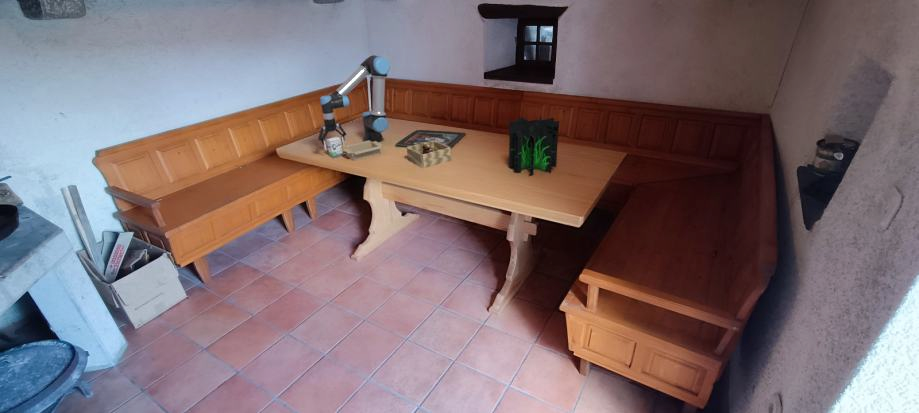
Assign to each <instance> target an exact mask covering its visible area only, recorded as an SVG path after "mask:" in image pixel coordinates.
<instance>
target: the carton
mask: <svg viewBox="0 0 919 413" xmlns="http://www.w3.org/2000/svg"><path fill="white" fill-rule="evenodd" d="M382 146H383V144H382V143H381V142H377V141H374V142H371V141H364V140H363V141H361V142H357V143H351V144H347V145H344V146H343V147H344V148H342V151H344V152H345V154H346V157H348V158H349V159H351V160H352V161H355V162H356V161H359V160H363V159H367V158H370V157H375V156H379V155H381V153H382V152H381V149H382V148H383V147H382Z"/></svg>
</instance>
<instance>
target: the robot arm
mask: <svg viewBox="0 0 919 413" xmlns="http://www.w3.org/2000/svg"><path fill="white" fill-rule="evenodd" d="M390 69H391V64H390V62H389V60H388V59H387V58H385V57H383V56H381V55H370V56H369V57H367V58H366V59H364V61H363V62H362V63H360V64H359V67H358V68H357V69H356V70H355V71H354V72H353V73H352V74H351V75H350V76H349V77H348V78H347V79H346V80H345V81H343V83H342V84H341V85H340V86H338V88H337V89H336V90H334V91H333V92H330V93H328V95H322V96H320V98H319V102H320V106H321V107H320V108H321V111H322V116H323V118H322V119H323V122H324V126H320V131H319V135H318V141H319V142H321V145H322V146H323V150H325V151H326V150H327V146H326V141H325V140H326V137H327V135H328V134H329V133H331V132H334V131H335V132H337V133H338V134H339V135H340V141H341V146H343V147H344V146H345V141H346V140H345V136H347V133H346V131H345V130H344V129H343V127H342V125H341V124H340V123H339V122H338V123H336V119H335V113H334V110H335V109H343V108H346V107H349V106H350V100H349V97H348V96H347V95H348V94H349V93H351V92H352V90H354V88H356V87H357V86H358V85H359V84H360V83H361V82H362V81H363V80H364V79H365V78H366V77H367V76H371V77H372V110H369V111H364V112H362V118H361V119H362V122H363V123H362V124H363V128H364V129H363V130H364V135H363V142H364V141H371V142H374V141H377V142H378V143H381V142H382V141H384V137H383V134H382V133H383V132H385V131H386V130H387V129H388V127H389V121H388V120H387V114H386V112H385V97H386V96H385V91H386V90H385V89H386V88H385V86H386V78H388V73H389V71H390ZM337 127H338V128H339V129H340V130H339V129H337Z"/></svg>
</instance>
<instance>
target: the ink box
mask: <svg viewBox="0 0 919 413" xmlns="http://www.w3.org/2000/svg"><path fill="white" fill-rule="evenodd" d="M326 144H327V150H328V153H329V155H331V156H335V155H338V154H341V153H343V150H342V149H343V148H342V141H341V137H338V136H334V137H330V138H327V139H326ZM329 155H328V156H329Z"/></svg>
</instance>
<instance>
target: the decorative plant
mask: <svg viewBox="0 0 919 413" xmlns="http://www.w3.org/2000/svg"><path fill="white" fill-rule="evenodd" d="M559 128H560V121H555V117H550V118H546V119H543V115H541V116H540V117H539V118H536V119H533V120H528V119H526V118H524V117H519V116H518V120H516V121H509V142H508V143H509V145H508V146H509V147H508V148H509V149H508V150H509V151H508V152H509V155H508V156H509V157H508V168H510V169H513V170H514V171H513V173H515V174H516V173H517V174H521V173H522V171H524V170H529V175H528V177H529V176H533V175H535V174H534V173H535V172H534V170H536V171H537V170H539V171H541V172H544V173H549V174H551V173H552V167H553V168H557V161H558V160H557V158H558V144H559V142H558V141H559Z"/></svg>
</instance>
